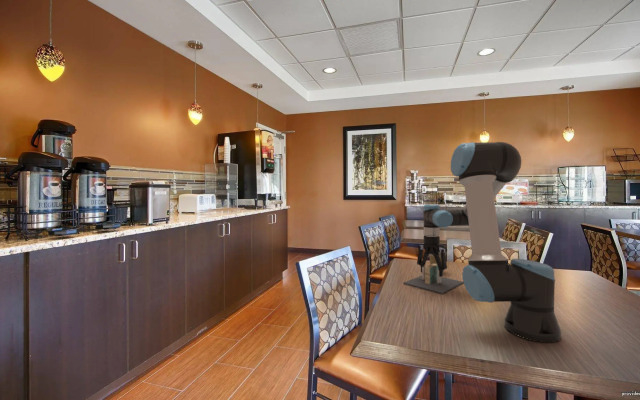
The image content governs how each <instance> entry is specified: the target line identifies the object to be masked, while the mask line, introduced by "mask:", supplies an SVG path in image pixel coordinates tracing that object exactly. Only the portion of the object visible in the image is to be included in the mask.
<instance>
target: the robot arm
mask: <svg viewBox="0 0 640 400" xmlns="http://www.w3.org/2000/svg"><path fill="white" fill-rule="evenodd" d="M521 167H522V156H521V154H520V152H519V150H518V149H517V148H516V147H515V146H514V145H512V144H510V143H508V142H506V141H505V142H503V141H495V142H493V141H491V142H489V141H488V142H474V141H471V142H463V143H460V144H459V145H457V146H456V147H455V149H454V151H453V153H452V155H451V159H450V172H451V173H452V175H453V176H454V177H458V182H459V184H460V185H462V186H463V187H464V193H465V202H466V203H465V205H464V206H463V207H462V209H441V208H440V205H439V204H434V203H433V204H431V203H430V204H424V205H423V209H422V210H423V212H422V214H423V219H422V220H423V245H422V244H420V245H418V246H417V248H418V253H417V260H416V265H418V266H420V272H421V276H422V280H425V267H426V266H427V265H426V263H427V260H428V258H429V255H430V254H432V255H433V256H434V257H435V260H436V263H437V265H438V268H439V270H437V283H438V284H439V283H441V277H444V275H443V270H444V271H445V270H447V269H448V265H447V252H446V249H447V248H446V249H443V248H440V246H441V245H440V243H441V241H440V240H441V238H440V237H441V235H440V234H441V233H440V230H441V229H440V228H448V227H462V226H463V227H466V226H467V227H468V228H469V238H470V244H471V245H470V246H471V253H472V254H471V256H470V257H469V258H468V259H467V262H468V263H467V265H465V266H464V267H463V269H462V275H461V276H462V282H464V283H463V285H464V288H465V290H466V292H467V293H468V295H469V296H470V297H471V298H472V299H473V300H475V301H476V302H479V303H481V302H482V303H496V302H497V303H501V302H502V303H505V302H507V303H509V302H510V306H509V308H508V309H507V312H506V315H505V317H504V328H505V327H506V328H505V330H507V331H508V330H509V331H510V332H509V331H508V332H509V333H511V332H512V333H514V334H516V335H519V336H521V337H524V338H528V339H531V340H530V341H532V340H535V341H534V342H537V341H542V342H541V343H546V342H551V343H555V342H554V341H557V342H559V341H560V340H561V339H562V330H561V327H560V324H559V321H558V319H557V316H556V314H555V289H556V288H555V284H556V283H555V282H556V277H555V269H554V267H552V266H550V265H549V264H546V263H542V262H540V261H535V260H529V259H524V258H512V259H511V261H510V264H509V260H508V258H507V257H506V256H504V254H503V253H502V247H501V238H500V232H499V224H498V218H497V209H496V202H495V198H496V197H497V195H498V194H499V193H500V192H501V190H503V188H504V187H505V185H507V184H509V183H511V182H513V180H514V179H515V178H516V177H517V176H518V174H519V172H520V170H521ZM439 250H440V252H441V260H440V257H439V253H438V251H439ZM445 253H446V255H445ZM441 261H442V262H441ZM512 333H511V334H512ZM514 334H513V335H514ZM516 335H515V336H516ZM519 336H518V337H519ZM521 337H520V338H521ZM524 338H523V339H524ZM560 338H561V339H560ZM528 339H527V340H528ZM559 339H560V340H559ZM558 340H559V341H558Z"/></svg>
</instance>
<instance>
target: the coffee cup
mask: <svg viewBox="0 0 640 400" xmlns="http://www.w3.org/2000/svg"><path fill="white" fill-rule="evenodd" d="M440 248H443V249H446V253H445V255H446V256H447V252H448V249H447V247H446V246H444V245H440ZM438 253H439V257H440V260H441V252H440V250H439V251H438ZM428 258H429V265H431V264H437V263H436V260H435V257H434V256H433V255H432V254H429V256H428ZM441 262H442V261H441ZM444 274H445V270H443V276H444Z"/></svg>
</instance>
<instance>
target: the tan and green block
mask: <svg viewBox="0 0 640 400" xmlns="http://www.w3.org/2000/svg"><path fill="white" fill-rule="evenodd" d="M425 266H426V267H425V283H427V284H431V283H433V282H435V281H437V270H439V268H438V265H437V264H431V265H430V264H429V265H425Z"/></svg>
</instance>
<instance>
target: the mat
mask: <svg viewBox="0 0 640 400" xmlns="http://www.w3.org/2000/svg"><path fill="white" fill-rule="evenodd" d="M403 285H405V286H409V287H413V288H417V289H421V290H424V291H429V292H432V293H436V294H440V295H444V294H447V293H449V292H451V291H452V290H453V289H456V288H457V287H460V286H462V285H464V282H463V280H462V281H461V280H458V279H452V278H447V277H444V276H442V277H441V283H439V284H438V283H437V281H435V282H433V283H431V284H427V283H425V280H422V275H419V276H417V277H414V278H412V279H409V280H407V281H403Z"/></svg>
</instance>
